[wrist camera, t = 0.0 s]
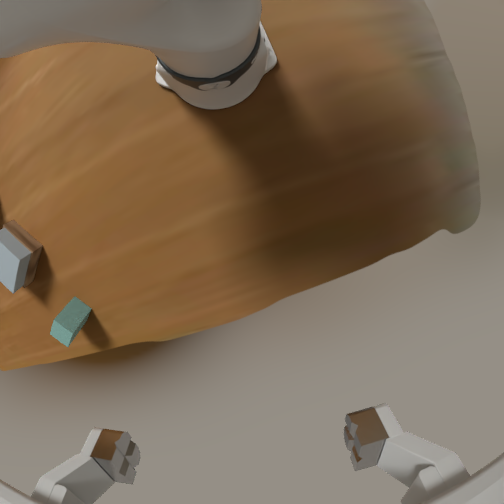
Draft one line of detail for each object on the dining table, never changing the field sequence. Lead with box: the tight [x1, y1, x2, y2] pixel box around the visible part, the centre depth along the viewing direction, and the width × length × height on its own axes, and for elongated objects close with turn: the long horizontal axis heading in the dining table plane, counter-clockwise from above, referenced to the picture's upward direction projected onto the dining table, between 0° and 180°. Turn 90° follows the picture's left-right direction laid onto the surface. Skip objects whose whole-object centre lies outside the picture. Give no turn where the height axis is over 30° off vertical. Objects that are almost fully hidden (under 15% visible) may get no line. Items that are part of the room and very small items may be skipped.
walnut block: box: [2, 220, 43, 288], centre depth 44 cm, size 10×10×4 cm
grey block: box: [0, 228, 31, 294], centre depth 40 cm, size 9×9×4 cm
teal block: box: [50, 297, 91, 347], centre depth 46 cm, size 4×4×9 cm
